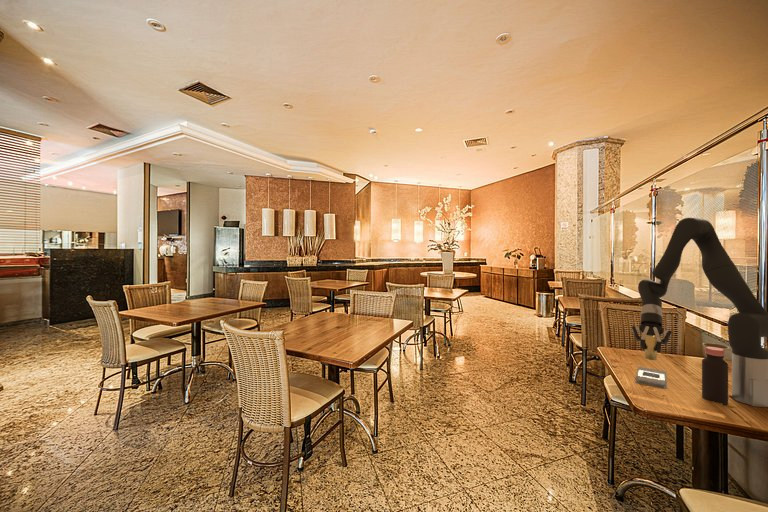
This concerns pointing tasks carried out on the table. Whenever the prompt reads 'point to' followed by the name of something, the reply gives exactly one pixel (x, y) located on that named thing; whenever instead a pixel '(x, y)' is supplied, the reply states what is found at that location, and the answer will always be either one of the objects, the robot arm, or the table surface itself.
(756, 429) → the table surface
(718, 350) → the bottle
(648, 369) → the grey base plate
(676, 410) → the table surface
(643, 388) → the table surface
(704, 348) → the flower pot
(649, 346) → the pin
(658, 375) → the collar
